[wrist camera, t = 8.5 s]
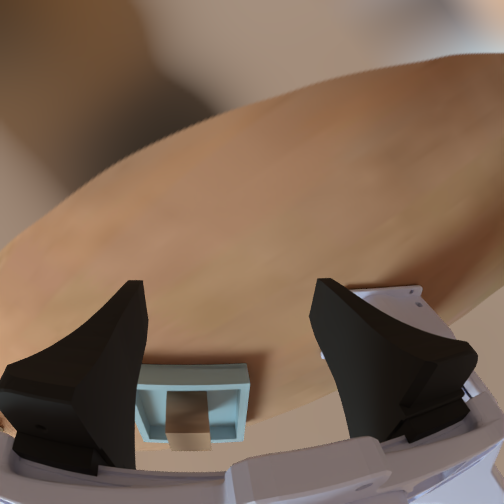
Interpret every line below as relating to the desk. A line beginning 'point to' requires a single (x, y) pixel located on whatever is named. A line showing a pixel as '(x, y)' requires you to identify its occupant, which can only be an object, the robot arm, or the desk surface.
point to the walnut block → (187, 421)
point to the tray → (194, 379)
